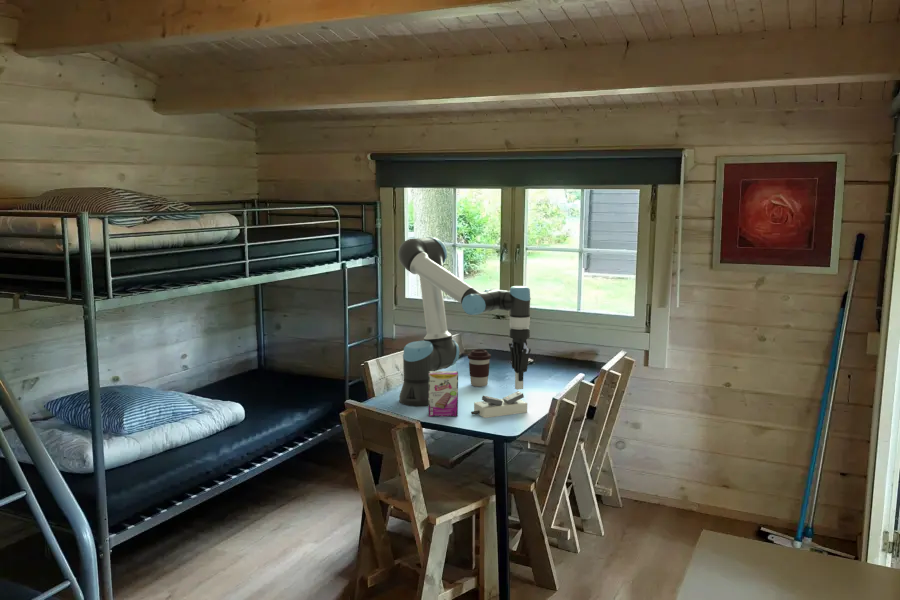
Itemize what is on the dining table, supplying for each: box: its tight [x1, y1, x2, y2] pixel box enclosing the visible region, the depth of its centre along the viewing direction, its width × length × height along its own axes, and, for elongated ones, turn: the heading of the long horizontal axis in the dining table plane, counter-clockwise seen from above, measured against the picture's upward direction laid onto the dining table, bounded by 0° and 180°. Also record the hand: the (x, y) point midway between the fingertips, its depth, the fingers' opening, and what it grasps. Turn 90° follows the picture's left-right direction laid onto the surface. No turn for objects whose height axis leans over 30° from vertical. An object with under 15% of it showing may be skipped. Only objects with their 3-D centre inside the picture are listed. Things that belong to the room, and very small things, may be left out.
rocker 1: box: [481, 395, 503, 405], centre depth 273 cm, size 7×4×2 cm, turn 113°
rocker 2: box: [502, 390, 525, 404], centre depth 277 cm, size 7×4×2 cm, turn 113°
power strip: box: [470, 398, 528, 419], centre depth 277 cm, size 21×9×4 cm, turn 113°
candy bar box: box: [427, 370, 459, 417], centre depth 273 cm, size 11×5×16 cm, turn 92°
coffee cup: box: [467, 348, 492, 388], centre depth 316 cm, size 10×10×15 cm
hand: (519, 388), depth 277 cm, fingers closed
